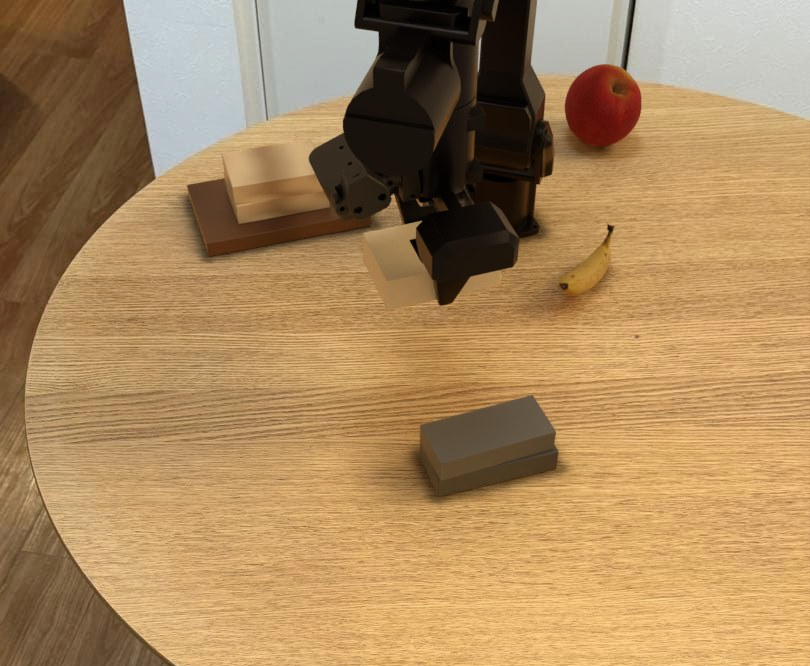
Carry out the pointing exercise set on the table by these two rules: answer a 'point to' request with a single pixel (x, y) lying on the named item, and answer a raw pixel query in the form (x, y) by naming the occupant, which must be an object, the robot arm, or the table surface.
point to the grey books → (488, 446)
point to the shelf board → (258, 231)
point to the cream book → (407, 268)
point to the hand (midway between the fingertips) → (431, 277)
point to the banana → (588, 269)
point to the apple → (603, 105)
